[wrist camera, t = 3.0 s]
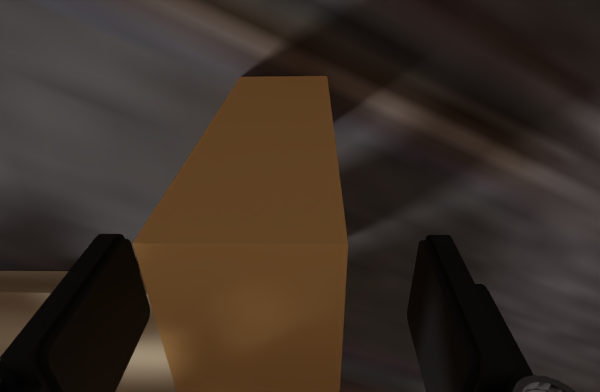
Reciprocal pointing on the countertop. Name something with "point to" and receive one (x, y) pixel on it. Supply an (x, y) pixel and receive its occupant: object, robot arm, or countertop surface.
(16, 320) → the wooden vise
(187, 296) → the upright wooden block
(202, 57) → the countertop surface
